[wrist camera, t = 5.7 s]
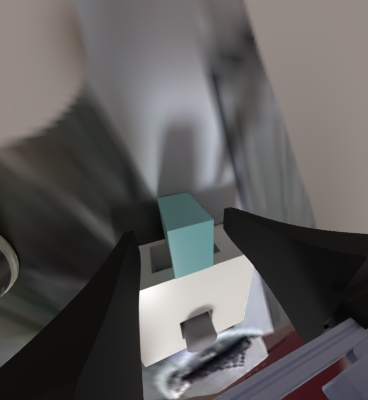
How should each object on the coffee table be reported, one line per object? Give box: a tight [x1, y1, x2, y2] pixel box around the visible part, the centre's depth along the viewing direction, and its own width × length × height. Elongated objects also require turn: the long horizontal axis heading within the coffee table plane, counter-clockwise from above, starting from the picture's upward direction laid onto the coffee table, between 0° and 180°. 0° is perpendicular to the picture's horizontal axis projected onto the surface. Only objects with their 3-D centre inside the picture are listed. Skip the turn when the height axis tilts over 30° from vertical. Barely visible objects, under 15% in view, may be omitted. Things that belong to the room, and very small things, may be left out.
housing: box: [138, 223, 254, 367], centre depth 15 cm, size 12×12×4 cm
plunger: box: [181, 311, 217, 352], centre depth 13 cm, size 3×3×2 cm
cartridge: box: [157, 192, 214, 279], centre depth 13 cm, size 14×3×5 cm, turn 4°
